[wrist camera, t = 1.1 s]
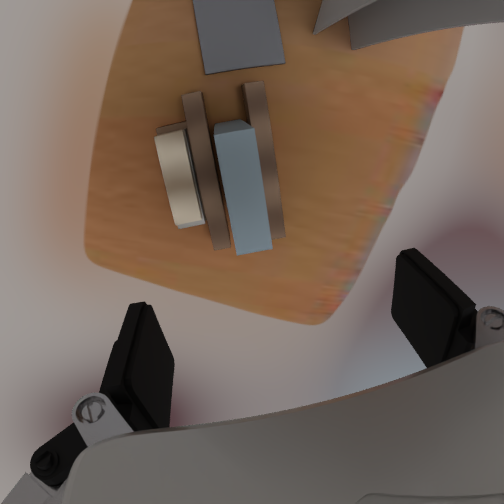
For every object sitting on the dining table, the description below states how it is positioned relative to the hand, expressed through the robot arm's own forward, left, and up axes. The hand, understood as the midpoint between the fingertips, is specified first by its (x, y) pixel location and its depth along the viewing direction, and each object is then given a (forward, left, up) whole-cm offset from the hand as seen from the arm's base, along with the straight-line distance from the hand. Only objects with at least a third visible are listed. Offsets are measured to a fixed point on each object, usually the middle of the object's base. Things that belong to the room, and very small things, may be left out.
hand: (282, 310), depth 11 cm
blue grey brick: (0, 0, -29) cm, 29 cm away
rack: (0, 0, -29) cm, 29 cm away
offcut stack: (0, -6, -29) cm, 29 cm away
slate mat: (-19, +3, -29) cm, 34 cm away
